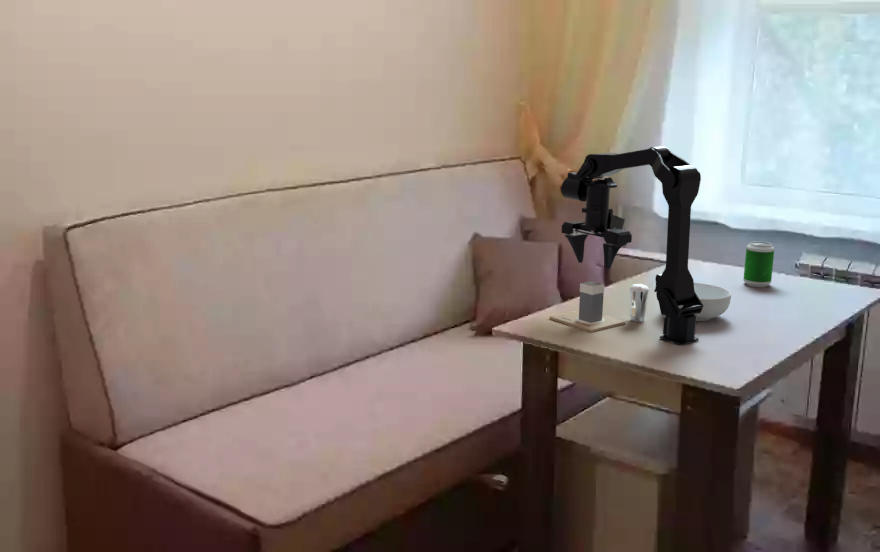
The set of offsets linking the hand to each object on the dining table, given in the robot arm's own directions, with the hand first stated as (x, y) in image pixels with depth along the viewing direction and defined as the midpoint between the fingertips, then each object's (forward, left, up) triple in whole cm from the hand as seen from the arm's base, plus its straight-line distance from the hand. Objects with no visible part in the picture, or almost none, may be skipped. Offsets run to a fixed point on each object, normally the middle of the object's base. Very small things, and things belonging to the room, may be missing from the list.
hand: (594, 266), depth 240 cm
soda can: (-8, -60, -12) cm, 62 cm away
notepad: (-5, +7, -12) cm, 15 cm away
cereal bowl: (-18, -18, -12) cm, 28 cm away
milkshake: (-12, -4, -12) cm, 18 cm away
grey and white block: (-6, +7, -11) cm, 15 cm away
